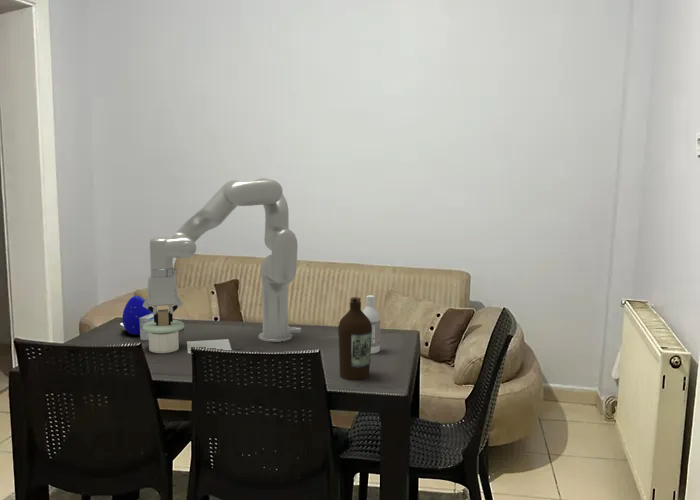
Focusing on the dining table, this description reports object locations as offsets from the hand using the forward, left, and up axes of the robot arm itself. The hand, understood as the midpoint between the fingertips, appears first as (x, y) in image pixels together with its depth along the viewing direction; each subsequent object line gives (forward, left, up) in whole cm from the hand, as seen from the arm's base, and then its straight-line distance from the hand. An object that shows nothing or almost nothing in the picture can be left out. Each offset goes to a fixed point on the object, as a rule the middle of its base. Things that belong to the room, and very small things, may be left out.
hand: (163, 323), depth 246 cm
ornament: (+10, -23, -10) cm, 27 cm away
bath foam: (-70, +17, -10) cm, 73 cm away
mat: (-15, 0, -9) cm, 18 cm away
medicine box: (+5, -17, -10) cm, 20 cm away
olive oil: (-58, +41, -10) cm, 72 cm away
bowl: (0, 0, -9) cm, 9 cm away
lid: (0, 0, -1) cm, 1 cm away
